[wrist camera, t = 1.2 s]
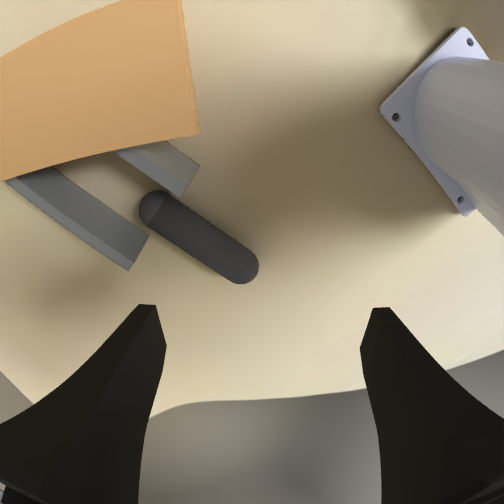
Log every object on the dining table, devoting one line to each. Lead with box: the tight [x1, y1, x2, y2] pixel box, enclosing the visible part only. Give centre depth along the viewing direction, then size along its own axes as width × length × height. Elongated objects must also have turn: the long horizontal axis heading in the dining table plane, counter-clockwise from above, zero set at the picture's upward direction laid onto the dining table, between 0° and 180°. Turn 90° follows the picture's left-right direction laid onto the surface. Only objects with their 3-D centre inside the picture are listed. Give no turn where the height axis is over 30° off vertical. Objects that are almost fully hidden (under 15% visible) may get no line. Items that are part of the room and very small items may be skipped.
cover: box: [0, 0, 200, 182], centre depth 11 cm, size 12×7×1 cm, turn 96°
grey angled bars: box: [4, 141, 200, 271], centre depth 16 cm, size 12×7×3 cm, turn 51°
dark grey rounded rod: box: [139, 191, 259, 284], centre depth 19 cm, size 8×2×2 cm, turn 51°
